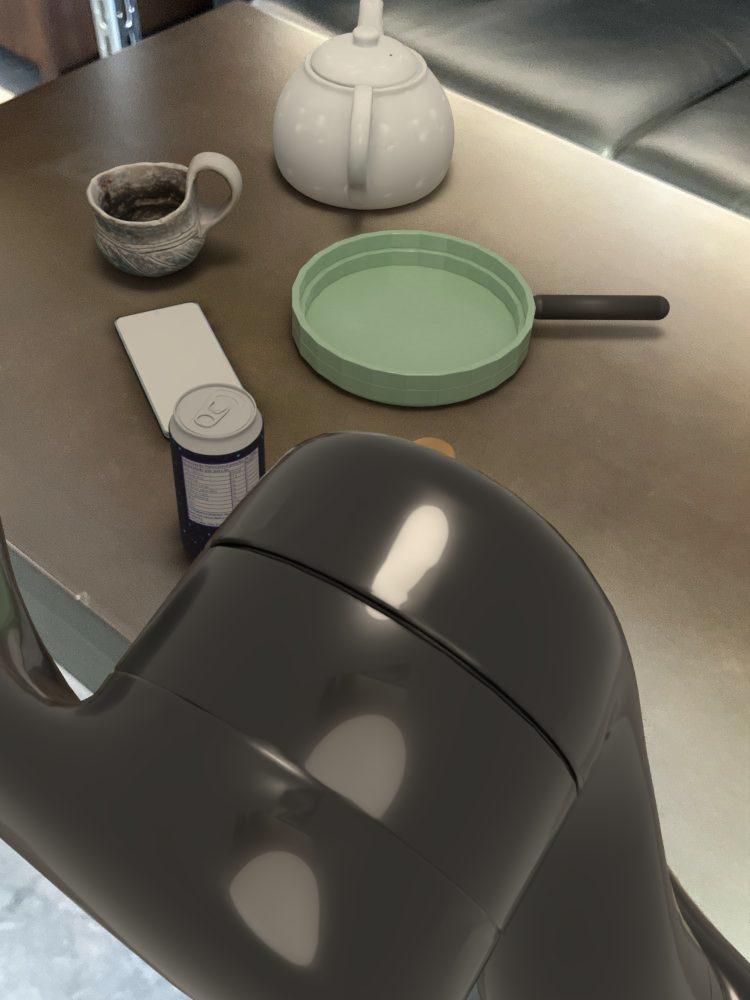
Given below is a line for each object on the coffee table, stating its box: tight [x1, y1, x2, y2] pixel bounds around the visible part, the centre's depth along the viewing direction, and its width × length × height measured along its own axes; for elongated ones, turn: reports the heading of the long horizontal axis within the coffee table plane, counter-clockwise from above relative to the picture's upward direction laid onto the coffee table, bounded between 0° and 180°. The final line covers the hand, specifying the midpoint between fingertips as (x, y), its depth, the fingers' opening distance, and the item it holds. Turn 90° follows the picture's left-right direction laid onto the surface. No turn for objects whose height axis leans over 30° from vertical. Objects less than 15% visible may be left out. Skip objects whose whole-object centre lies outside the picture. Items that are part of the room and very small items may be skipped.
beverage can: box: [168, 383, 267, 561], centre depth 72 cm, size 6×6×12 cm
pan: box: [291, 229, 536, 408], centre depth 92 cm, size 19×19×4 cm
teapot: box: [272, 0, 455, 211], centre depth 105 cm, size 19×18×14 cm
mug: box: [86, 151, 243, 278], centre depth 95 cm, size 10×12×10 cm
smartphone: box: [113, 301, 246, 439], centre depth 88 cm, size 7×1×15 cm
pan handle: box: [533, 293, 671, 321], centre depth 92 cm, size 12×2×2 cm, turn 93°
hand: (405, 494), depth 68 cm, fingers closed on brush, 2 cm apart
